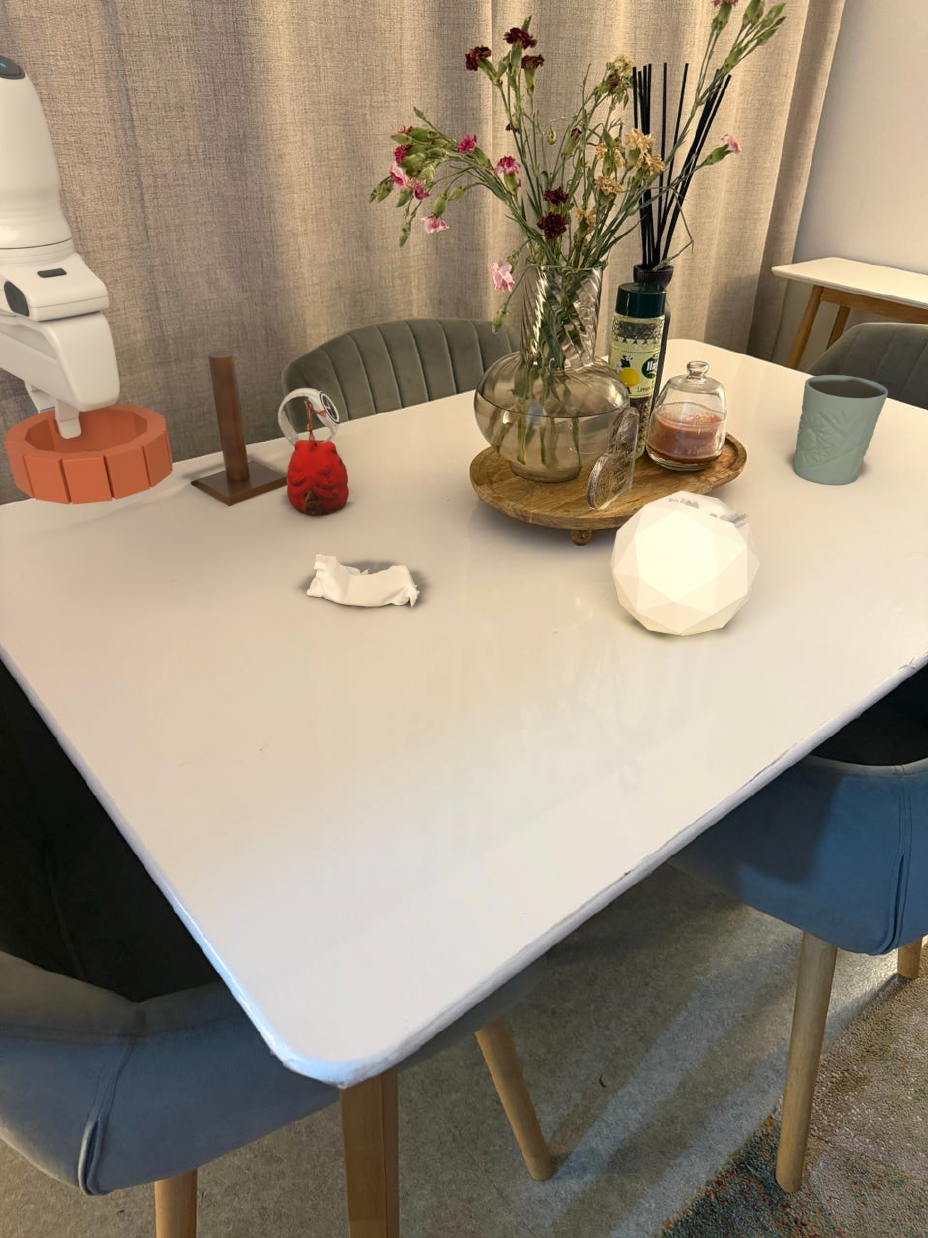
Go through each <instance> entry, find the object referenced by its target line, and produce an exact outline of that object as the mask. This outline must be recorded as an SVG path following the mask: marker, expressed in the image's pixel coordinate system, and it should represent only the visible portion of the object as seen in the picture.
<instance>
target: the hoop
mask: <svg viewBox="0 0 928 1238" xmlns="http://www.w3.org/2000/svg"><path fill="white" fill-rule="evenodd" d="M52 417H55V410H51V411H47V412H43V413H39V414H38V413H37V414H36V415H32V416H29V417H28V418H26V419H25V420H21V422H19V423H17V424H15V425H13V426H12V427H10V428H9V429H8V430H7V431H8V432H7V434H6V437H5V440H4V442H3V444H4V447H5V451H6V455H7V458H8V461H9V466H10V469H11V472H12V476H13V480H14V483H15V486H16V488H17V489H19V490H20V491H22V492H23V494H26V495H27V496H28V497H30V498H31V499H35V500H36V501H42V502H50V503H56V504H63V505H70V504H72V505H81V504H82V505H83V504H84V505H85V504H93V503H101V502H102V503H103V502H112V501H113V499H114V500H117V501H118V500H120V499H123V498H126V497H129V496H133V495H136V494H139V493H142V492H145V491H148V490H150V489H151V488H154V487H156V486H157V485H158V484H160V483H161V482H162V481H163V480H165V479H166V478H167V477H168V476H170V475H171V474H172V473H173V455H172V449H171V448H172V447H171V442H170V436H169V431H168V425H167V419H166V417H165V416H164V415H162V414H160V413H158V412H156V411H155V410H153V409H151V408H149V407H147V406H146V407H144V406H142V405H135V404H127V403H118V402H116V404H114V405H111V406H107V407H104V408H100V409H96V410H91V411H87V412H81V411H79V417H78V419H79V423H80V428H81V434H80V435H79V436H77V437H73V438H69V439H65V438H63V437H62V436H60V435H59V434H57V433H56V431H55V426H54V423H53V419H52Z"/></svg>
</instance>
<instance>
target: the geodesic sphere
mask: <svg viewBox="0 0 928 1238" xmlns="http://www.w3.org/2000/svg"><path fill="white" fill-rule="evenodd" d="M748 517H749V515H748V514H747V515H746V513H744V514H741V511H739V512H735V511H733V509H732V508H730V507H729V506H728V505H727V504H725V502H723V501H722V500H721V499H720V498H718V497H714V496H709V495H704V494H700V493H695V492H689V491H685V490H679V491H677V492H674V493H671V494H669V495H666V496H663V497H661V498H658V499H656V500H653V501H650V502H647V503H645V504H644V505H643V506H641V508H640V509H639V510H638V511H637V512H636V513H634V514H633V516H631V517H630V518H629V519H628V520H627V521H626V522H625V523H624V524H623V525H622V526H621V527H619V529H617V531H616V534H615V538H614V544H613V548H612V553H611V558H610V562H609V569H610V573H611V577H612V581H613V584H614V587H615V591H616V595H617V599H618V602H619V603H618V604H619V605H621V606H622V608H624V609H625V610H626V611H627V612H628V614H630V615H631V616H633V618H635V619H636V620H637V621H638V622H639V623H640V624H641V626H643V627H644V628H645V629H646V630H648V631H652V632H657V633H663V634H669V635H675V636H680V637H687V636H692V635H697V634H701V633H705V632H709V631H713V630H718V629H722V628H723V627H724V626H725V625H726V624H727V623H728V622H729V621H730V620H731V619H732V618H733V617H734V616H735V615H736V614H737V613H738V612H739V610H740V609H742V607H743V606H744V605H745V604H746V603H747V601H749V600H750V597H751V594H752V591H753V588H754V585H755V582H756V580H757V576H758V573H759V570H760V567H761V560H760V557H759V553H758V550H757V547H756V543H755V540H754V536H753V533H752V530H751V525H750V524H749V523H748V522H747V521H745V519H746V518H748Z"/></svg>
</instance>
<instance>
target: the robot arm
mask: <svg viewBox="0 0 928 1238" xmlns="http://www.w3.org/2000/svg"><path fill="white" fill-rule="evenodd" d="M60 190H61V175H60V169H59V166H58V161H57V157H56V152H55V148H54V143H53V139H52V136H51V132H50V127H49V124H48V121H47V117H46V114H45V111H44V107H43V104H42V102H41V99H40V97H39V94H38V92H37V90H36V88H35V85H34V83H33V82H32V80H31V78H30V76H29V75H28V73H27V71H26V70H25V69H24V68H23V67H22V66H21V65H19V63H16V62H15V61H14V60H13V59H11V58H8V57H6V56H4V55H2V54H0V369H2V370H4V371H6V372H8V373H9V374H11V375H13V376H15V377H17V378H18V379H19V380H22V381H23V382H24V386H25V390H26V391H27V394H28V395H29V397H30V399H31V400H32V403H33V405H34V406H35V408H36V410H37V414H39V413H43V412H47V411H51V410H55V417H52V419H53V423H54V426H55V431H56V433H57V434H59V435H60V436H62V437H63V438H65V439H69V438H73V437H77V436H79V435H80V434H81V428H80V423H79V419H78V417H79V411H81V412H87V411H91V410H96V409H100V408H104V407H107V406H111V405H114V404H116V403H118V400H119V396H120V393H121V385H120V384H121V383H120V382H121V381H120V375H119V367H118V362H117V356H116V350H115V344H114V339H113V334H112V330H111V327H110V324H109V322H108V319H107V318H106V316H105V315H104V314H103V312H102V311H104V310H108V309H109V308H110V305H111V304H110V298H109V297H110V296H109V292H108V288H107V286H106V284H105V283H104V281H102V280H101V279H100V277H98V275H96V274H95V273H94V272H93V271H92V270H91V269H90V268H89V267H88V265H87V264H86V263H85V262H84V260H83V258H82V257H81V255H80V254H79V253H78V252H76V247H75V243H74V238H73V234H72V229H71V227H70V225H69V223H68V221H67V220H66V217H65V215H64V213H63V210H62V205H61V199H60V197H61V195H60Z"/></svg>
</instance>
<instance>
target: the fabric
mask: <svg viewBox="0 0 928 1238" xmlns="http://www.w3.org/2000/svg"><path fill="white" fill-rule="evenodd" d="M313 570H316V573H315V577H314V578H313V579H312V581H311V583H310V587H309V588H308V589H307V590H306V594H305V596H307V597H309V596H310V597H314V598H324V599H325V600H328V601H331V602H334V603H337V604H341V605H346V606H357V607H359V606H360V607H370V608H371V607H383V606H387V605H389V604H392V605H394V606H404V605H406V604H407V603H408V602H409V603H410V607H411V609H413V608H414V605H415V604H416V602H417V599H418V597H419V594H420V590H418V589H417V587H418V584H415V582H414V580H413V577H412V574H411V572H410V569H409V567H408V566H407V565H406V564H403V565H400V564H398V565H391V566H390V567H389V568H387V569H383V570H380V571H378V572H373V573H369V571H370V570H371V568H370V567H367V569H365V570H364V571H362V572H361V570H360V569H358V568H357V567H354V566H353V567H352V566H348V565H343V564H342V563H341V562H340V561H339V559H338V557H336V555H326V554H325V555H324V554H320V553H316V554H315V563H314V566H313Z"/></svg>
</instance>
